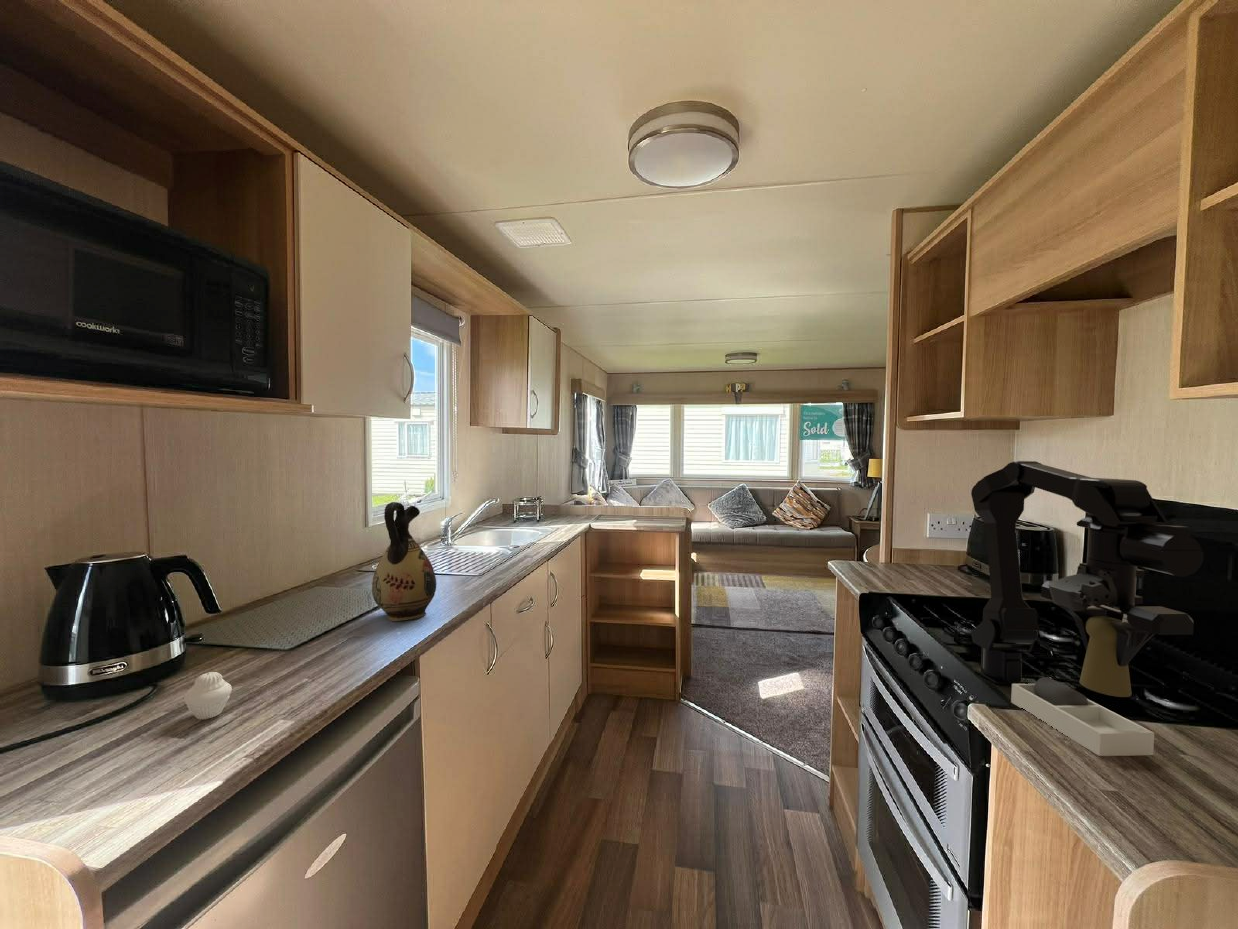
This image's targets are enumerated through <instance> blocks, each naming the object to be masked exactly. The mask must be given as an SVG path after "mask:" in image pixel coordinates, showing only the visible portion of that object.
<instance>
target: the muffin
mask: <svg viewBox="0 0 1238 929" xmlns="http://www.w3.org/2000/svg"><path fill="white" fill-rule="evenodd" d="M232 691H233V689H232V685H231V684H230V683H229V682H227V681H226V680H225V679H223V675H222V674H221V673H220V672H216V671H215V672H214V671H211V672H206V673H203V674H200V675H199V676H198V677H196V678H195V681H194V684H193V685H192V687H191V688H190V689H188V691H187V692H186V693H185V695H184V703H185V704H186V707H187V708H188V709H189V711H190V712H191V714H192V715H193V716H194V717H195V718H196V719H197V720H208V719H212V718H214V717H217V716H218V715H220V714H221V713H222V711H223V710H224V708H225V706H226V704H227V703H228V701H229V699H230V697H231V693H232Z"/></svg>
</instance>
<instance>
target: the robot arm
mask: <svg viewBox="0 0 1238 929" xmlns="http://www.w3.org/2000/svg"><path fill="white" fill-rule="evenodd" d="M1036 489H1040V490H1043V491H1046V492H1049V493H1051V494H1054V495H1057V496H1060V497H1063V498H1066V499H1068V500H1071V501H1072V504H1073V505H1074V506H1075V507H1076V508H1078V509H1080V510H1081V511H1083V512H1085V513H1086V514H1087V515H1086V516H1085V517H1083V518H1081V519H1080V520H1078V521H1077V522H1076V525H1077V527H1082V528H1086V529H1088V534H1087V550H1086V551H1087V552H1086V562H1080V563H1079V565H1078V566H1077V569H1076V570H1077V571H1076V574H1073V575H1068V576H1064V577H1062V578H1059V579H1057V580H1046V581H1045V582H1044V583H1043V584H1042V585H1041V588H1040V589H1041V591H1040V597H1041V598H1045V599H1047V600H1050V601H1052V602H1053V604H1054V605H1056V606H1059V608H1060V609H1063V610H1065V611H1066V612H1067V613H1068V614H1070V615H1071V616H1072V618H1073V619H1074V621H1075V623H1076V626H1077V628H1078V631H1079V634H1080V637H1081V639H1082V642H1083V645H1084V647H1085V650H1086V651H1087V647H1088V643H1089V638H1090V636H1089V634H1088V633H1087V631H1086V622H1087V620H1088V619H1089V618H1090V617H1094V616H1103V617H1107V612H1112V613H1115V614H1117V615H1120V616H1122V620H1121V621H1122V622H1110V624H1111V625H1112V626H1113V628H1114V629H1115V630H1116V632H1117V663H1118V665H1119V666H1127V665H1128V666H1129V663H1130V662H1131V661H1132V659H1133V658H1134V657H1135V656H1136V654H1137V653H1139V651H1140V650H1141V648H1142V647H1143V646H1144V645H1145V644H1146V643H1147V642H1148V641H1149V640H1150V639H1152V637H1153V636H1154V635H1158V636H1173V635H1174V636H1179V635H1182V636H1185V635H1189V636H1190V635H1194V625H1195V624H1194V623H1195V622H1194V620H1193V618H1192V617H1191V616H1190V615H1189V614H1188V613H1186V612H1183V611H1179V610H1175V609H1172V608H1169V607H1165V606H1160V605H1158V606H1147V605H1146V606H1143V604H1144V597H1143V596H1140V595H1137V594H1136V591H1137V578H1145V573H1146V571H1145V570H1144V569H1146V570H1150V571H1155V572H1159V573H1163V574H1168V575H1171V576H1176V577H1179V578H1182V577H1189V576H1191V575H1193V574H1194V573H1196V572H1197V571H1198V570H1199V569H1200V568H1201V566H1202V565H1203V562H1204V556H1205V552H1204V551H1203V550H1202V547H1201V545H1200V543H1199V542H1198V541H1197V539H1195V538H1194V537H1192V536H1191V535H1190V527H1188V526H1185V525H1184V526H1183V525H1170V523H1169V521H1168V519H1167V518H1166V516H1165V515H1164V513H1163V512H1162V511H1161V509H1160V508H1159V506H1158V504H1157V502H1156V501H1155V500H1154V499H1153V497H1152V495H1151V493H1150V491H1149V490H1148V486H1147V484H1145V483H1144V482H1142V481H1141V480H1137V479H1125V478H1124V479H1123V478H1122V479H1121V478H1105V477H1104V478H1102V477H1101V478H1100V477H1091V476H1087V475H1083V474H1079V473H1077V472H1071V471H1070V470H1065V469H1061V468H1057V467H1053V466H1049V465H1046V464H1042V463H1041V462H1038V461H1034V460H1027V461H1026V460H1013V461H1012V462H1009V463H1007V464H1006V465H1005V466H1004V467H1003V468H1001V469H998V470H996V471H994V472H992V473H990V474H987V475H985V476H984V477H982V478H981V479H980V480H978V481H977V482H976V483H975V484H974V485H973V487H972V489H971V492H970V495H971V499H972V503H973V507H974V508H973V509H974V512H976V515H977V516H978V517H980V519H981V520H982V522H983V524H984V525H985V526H984V527H985V537H986V548H987V549H986V550H987V561H988V571H989V574H988V575H989V583H990V584H989V585H990V597H989V599H988V601H987V602H986V604H985V606H984V607H983V609H982V621H981V622H980V623H978V624H977V626H976V627H974V628H973V629H972V630H971V631H970V634H971V641H972V643H973V644H975V645H977V646H978V647H981V655H980V656H981V657H980V658H981V659H980V660H981V661H980V667H973V671H974V672H976V673H977V674H979V675H981V676H983V677H984V678H986V679H987V680H989V681H991V682H993V683H994V684H997V685H1012V684H1025V683H1028V684H1029V682H1028V680H1026V679H1025V678H1024V677H1022V673H1023V672H1022V670H1023V669H1022V668H1023V661H1022V652H1021V651H1023V652H1024V651H1025V652H1032V650H1033V648H1034V645H1035V641H1036V640H1037V639H1038V636H1039V631H1041V628H1040V626H1039V622H1038V619H1039V617H1038V616H1039V614H1038V611H1037V609H1036V608H1034V607H1030V606H1029V605H1028V603H1027V602H1026V601H1025V599H1024V598H1023V590H1022V579H1021V569H1020V568H1021V567H1020V559H1019V547H1018V538H1017V537H1018V535H1017V528H1016V527H1017V523H1018V520H1019V518H1020V517H1021V516H1022V514H1023V512H1024V510H1025V500H1026V499H1027V498H1028V497H1030V496H1031V495H1033V494H1034V493H1035V490H1036ZM1139 568H1141V569H1139ZM1142 568H1143V569H1142ZM1137 605H1142V606H1137Z"/></svg>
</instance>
